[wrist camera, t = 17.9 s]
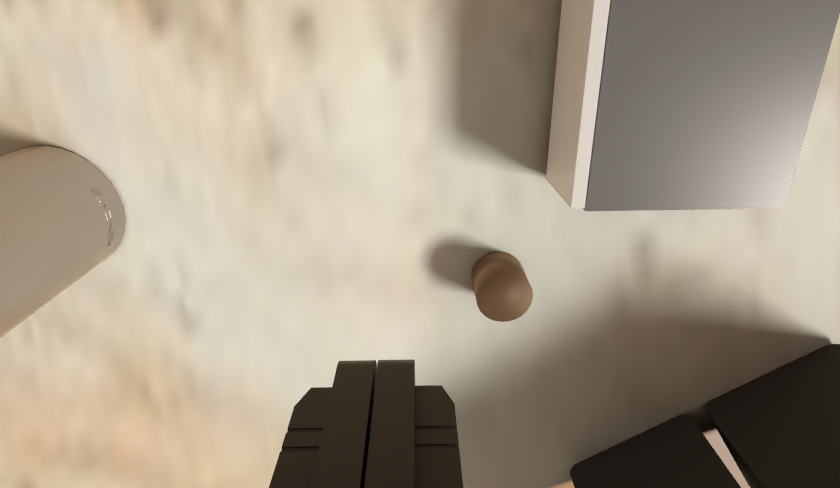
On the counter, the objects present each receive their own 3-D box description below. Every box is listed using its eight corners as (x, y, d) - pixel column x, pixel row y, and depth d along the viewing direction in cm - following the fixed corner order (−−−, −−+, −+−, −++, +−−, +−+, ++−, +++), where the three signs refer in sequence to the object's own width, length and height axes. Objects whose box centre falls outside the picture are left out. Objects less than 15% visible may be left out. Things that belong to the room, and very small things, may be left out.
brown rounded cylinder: (470, 298, 40) (475, 322, 37) (472, 252, 39) (477, 272, 35) (521, 297, 40) (530, 321, 37) (524, 251, 39) (534, 271, 35)
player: (557, 181, 36) (585, 211, 31) (579, -41, 31) (618, -57, 25) (724, 178, 37) (783, 208, 31) (775, -43, 31) (860, -60, 25)
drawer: (545, 179, 36) (571, 208, 30) (565, -35, 30) (600, -49, 25) (673, 177, 36) (723, 206, 30) (714, -37, 30) (784, -51, 25)
